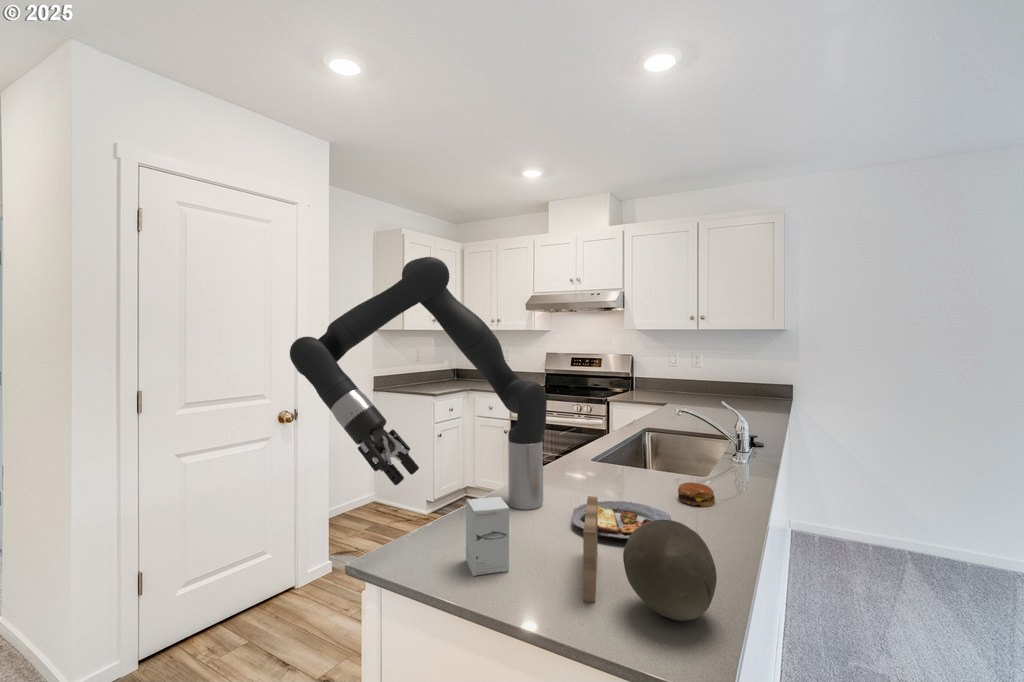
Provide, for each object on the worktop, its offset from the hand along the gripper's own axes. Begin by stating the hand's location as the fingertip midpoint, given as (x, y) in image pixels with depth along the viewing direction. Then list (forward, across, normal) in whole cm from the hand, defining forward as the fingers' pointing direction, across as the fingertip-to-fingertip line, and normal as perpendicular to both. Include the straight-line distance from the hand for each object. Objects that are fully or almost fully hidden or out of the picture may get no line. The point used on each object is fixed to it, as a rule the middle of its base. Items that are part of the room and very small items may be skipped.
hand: (408, 476), depth 101 cm
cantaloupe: (+46, -12, -25) cm, 54 cm away
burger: (+56, +46, -38) cm, 82 cm away
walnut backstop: (+37, -1, -16) cm, 40 cm away
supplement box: (+24, 0, -1) cm, 24 cm away
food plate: (+42, +26, -22) cm, 54 cm away
